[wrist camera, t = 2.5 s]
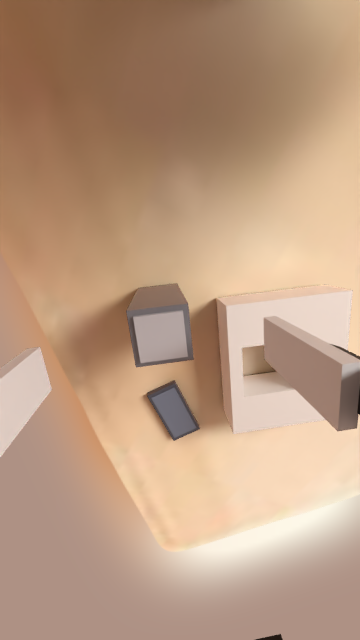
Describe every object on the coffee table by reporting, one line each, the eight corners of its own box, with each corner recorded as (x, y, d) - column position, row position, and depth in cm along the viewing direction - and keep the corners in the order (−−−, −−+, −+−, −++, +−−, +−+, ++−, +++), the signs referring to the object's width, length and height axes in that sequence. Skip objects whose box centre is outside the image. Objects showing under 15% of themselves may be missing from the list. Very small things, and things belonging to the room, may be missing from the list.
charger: (138, 288, 26) (125, 312, 16) (176, 283, 26) (188, 304, 16) (143, 325, 27) (135, 369, 17) (181, 320, 27) (194, 361, 17)
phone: (147, 391, 30) (147, 396, 28) (174, 378, 29) (175, 383, 28) (173, 434, 32) (173, 441, 30) (198, 423, 31) (199, 429, 30)
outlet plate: (216, 297, 27) (226, 306, 23) (325, 284, 27) (354, 290, 23) (224, 410, 30) (234, 435, 26) (319, 396, 31) (343, 418, 27)
